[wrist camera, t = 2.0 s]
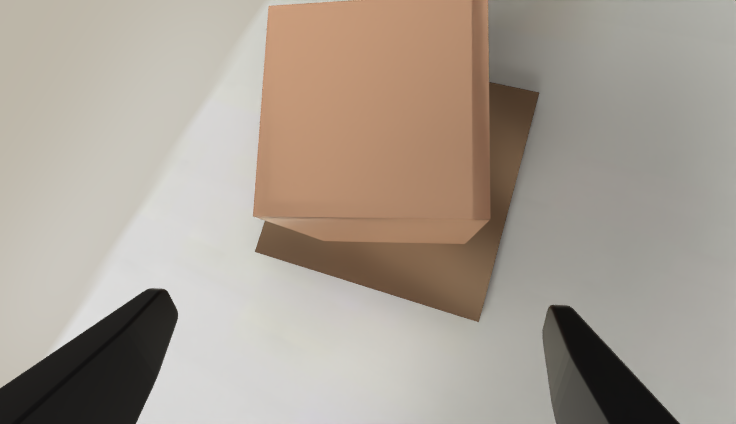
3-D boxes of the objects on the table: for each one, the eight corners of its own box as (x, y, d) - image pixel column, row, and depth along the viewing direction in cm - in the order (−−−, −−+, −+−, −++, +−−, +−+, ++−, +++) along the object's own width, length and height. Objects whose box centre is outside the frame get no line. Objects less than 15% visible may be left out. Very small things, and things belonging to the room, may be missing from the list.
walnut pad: (476, 320, 21) (478, 322, 20) (262, 252, 23) (254, 251, 22) (534, 100, 22) (539, 92, 21) (326, 56, 25) (322, 47, 24)
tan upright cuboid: (464, 243, 21) (490, 219, 12) (323, 241, 22) (253, 216, 13) (464, 106, 22) (487, -9, 13) (330, 110, 23) (268, 6, 14)
